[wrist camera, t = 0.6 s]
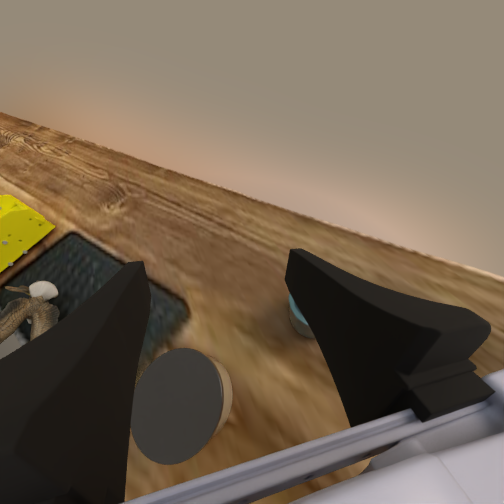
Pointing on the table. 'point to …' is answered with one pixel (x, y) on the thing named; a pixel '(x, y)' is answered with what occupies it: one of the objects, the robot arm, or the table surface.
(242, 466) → the robot arm
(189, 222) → the table surface
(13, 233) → the yellow toy chassis
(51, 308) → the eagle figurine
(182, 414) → the jar
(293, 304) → the cup
